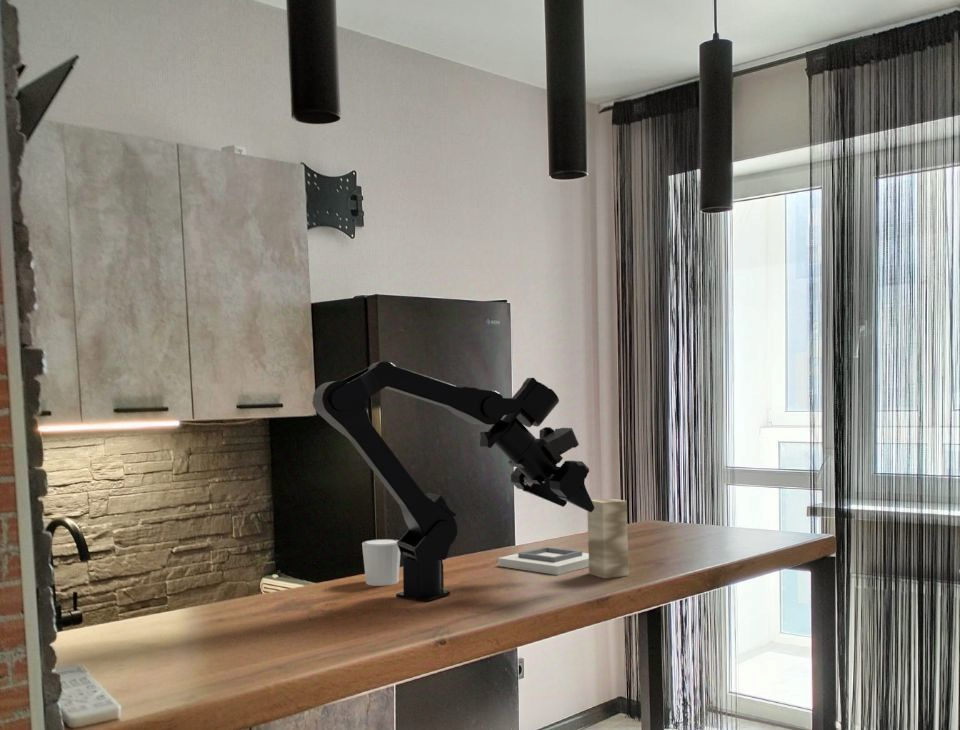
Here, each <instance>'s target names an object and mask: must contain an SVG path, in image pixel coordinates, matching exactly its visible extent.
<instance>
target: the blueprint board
mask: <svg viewBox="0 0 960 730" xmlns="http://www.w3.org/2000/svg"><path fill="white" fill-rule="evenodd" d="M497 559H498V560H497V562H498V563H497V564H498V567H503V568H510V569H516V570H521V571H529V572H537V573H542V574H548V575H555V576H559V575H563V574H567V573H570V572H574V571H578V570H581V569H586V568H589V552H583V551H582V550H575V549H574V550H573V549H567V548H558V547H549V546H544V547H540V548H536V549H530V550H526V551H522V552H517V553H515V554H511V555H509V554H508V555H506V556H501V557H500V556H499V557H498V558H497Z"/></svg>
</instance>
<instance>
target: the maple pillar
mask: <svg viewBox="0 0 960 730" xmlns="http://www.w3.org/2000/svg"><path fill="white" fill-rule="evenodd" d="M591 501H592V503H593V505H594V507H595V508H594V510H593V511H592V512H588V511H587V537H588V538H587V541H588V542H587V543H588V548H587V549H588V553H589V567H588V573H589V574H590V575H591V576H592V575H593V576H596V577H599V578H601V579H610V578H618V577H628V576H630V575H629V574H630V573H629V570H630V569H629V541H628V540H629V538H628V537H629V536H628V503H627V502H628V501H627V500H624V499H616V498H598V499H591Z"/></svg>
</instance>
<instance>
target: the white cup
mask: <svg viewBox="0 0 960 730" xmlns="http://www.w3.org/2000/svg"><path fill="white" fill-rule="evenodd" d="M398 541H399V540H398V539H391V538H382V539H381V538H380V539H379V538H378V539H370V540H365V541H363V542H362V543H361V546H362V556H363V558H362V559H363V566H364V567H363V568H364V576H365V577H364V578H365V584H366V585H368V586H374V587H375V586H376V587H380V586H381V587H382V586H383V587H385V586H393V585H397V584H399V579H400V577H399V576H400V566H401V553H400V550H399V548H398V545H397V542H398Z"/></svg>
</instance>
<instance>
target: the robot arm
mask: <svg viewBox="0 0 960 730" xmlns="http://www.w3.org/2000/svg"><path fill="white" fill-rule="evenodd" d="M383 389H386V390H390V391H393V392H395V393H400V394H402V395H405V396H408V397H410V398H414V399H417V400H420V401H423V402H427V403H431V404H433V405H436V406H440V407H443V409H445V410H446V409H447V410H448V411H450V413H452V414H453V415H455V416H457V417H458V418H460V419H462V420H464V421H466V422H467V423H469V424H472V425H486V426H487V425H488V426H490V425H491V426H490V427H489V429H488V430H487V431H483V430H482V431H480V432H479V434H480V438H479V439H480V440H479V447H480V448H486V449H492V447H493V446H494V445H495V446H496V447H497V448H498V449H499V450H500V451H501V452H502V453H503V454H504V455H505V456H506V457H507V458H508V459H509V461H508V462H507V463H508V464H509V465H510V467H512V468H513V467H515V469H514V470H513V472H511V474H510V482H511V484H512V485H514V486H515V488H516V489H517V490H522V491H523V492H525V493H529V494H530V495H534V496H535V497H538V498H541V499H542V500H546V501H548V502H551V503H552V504H554V505H555V504H556V505H558V506H560V507H563V508H564V507H565V506H566V505H567V503H570V504H571V505H573V506H575V507H578V508H579V509H582V510H584V511H586V512H587V513H588V512H592V511H593V510H594V508H595V507H594V505H593V503H592V501H591V500H592V499H591V497H590V494H589V492H588V490H587V487H586V485H585V484H586V483H585V480H586V478H587V477H588V474H589V473H590V468H589V467H588V466H587V465H586V464H585V463H584V462H583V461H581V460H580V461H579V460H565V461H564V462H563V463H562V464H561V466H558V464H560V463H561V461H562V460H563V459H564V457H563V456H562V455H563V454H565V453H567V452H568V451H570V450H572V449H573V448H577V447H578V446H579V445H580V443H579V441H578V439H577V437H576V434H575V432H574V430H573V428H572V427H560V428H555V429H553V428H552V427H549V426H548V427H547V426H546V427H545V426H544V427H543V428H541V429H540V430H539V438H536V436H534V434H533V433H532V432H531V431H529V429H528V428H531V427H532V426H534V427H538V428H539V427H540V426H541V424H542V423H543V422H544V421H545V419H546V418H547V417H548V416H549V415H550V414H551V413H552V411H553V410H554V408H555V407H556V406H557V405H558V404H559V403H560V399H559V397H558V395H557V393H556V392H555V391H554V390H553V389H552V388H549V387H548V386H546V384H543V383H542V382H539V381H537V379H535V377H527V378H526V379H525V380H524V381H523V382H522V385H521V387H520V388H518V390H517V391H516V392H515V394H514V395H513V396H512V397H503V395H502V394H501V393H500V392H498V391H496V390H493V389H487V388H480V387H472V386H471V387H470V386H461V385H455V384H452V383H450V382H447V381H443V380H440V379H437V378H434V377H431V376H429V375H425V374H422V373H419V372H417V371H412V370H411V369H407V368H404V367H400V366H398V365H395V364H394V363H392V362H391V361H387V360H384V361H383V360H382V361H377V362H373V363H372V364H371V365H369V366H368V367H367V368H365V369H363V370H361V371H358V372H357V373H354V374H352V375H350V376H348V377H345V378H344V379H342V380H335V381H328V382H323V383H322V384H320V385H319V386H318V387H317V388H316V389H315V391H314V393H313V395H312V396H313V397H312V406H313V408H314V410H315V412H316V413H317V414H318V415H319V416H321V418H322V419H324V420H325V421H326V423H328V424H329V425H330V426H331V427H333V428H334V429H335V430H336V431H338V432H339V433H340V434H342V435H343V436H345V437H346V438H347V439H348V440H349V441H350V443H351V444H352V445H353V446H354V448H355V449H356V450H357V452H358V453H359V455H360V456H361V457H362V459H363V460H364V461H365V462H366V463H367V465H368V467H369V468H370V469H371V470H372V472H373V473H374V474H375V475H376V476H377V478H378V479H379V480H380V482H381V483H382V484H383V485H384V487H385V488H386V490H387V492H389V494H390V495H391V496H392V497H393V499H394V500H395V501H396V503H397V504H398V505H399V507H400V510H401V512H402V517H403V520H404V522H405V524H406V526H407V528H408V529H407V530H406V532H404V534H403V535H402V536H401V537H400V538H399V541H398V542H397V545H398V548H399V550H400V555H404V558H402V574H403V575H402V581H403V582H402V583H403V589H402V590H403V591H401V592H397V593H395V597H396V598H399V599H400V598H401V599H407V600H413V601H414V600H415V601H420V602H421V601H422V602H429V601H433V600H436V599H439V598H442V597H445V596H447V595H450V594H451V592H452V591H451V590H449V589H444V588H445V586H444V585H445V582H444V578H445V577H444V563H443V562H444V561H445V560H447V556H448V555H449V551H450V548H451V546H452V544H453V543H454V542H455V540H456V539H457V535H458V529H459V525H458V522H457V521H456V519H455V518H454V517H457V513H455V512H453V511H452V510H451V509H450V508H449V506H448V504H447V502H446V501H445V499H444V498H443V496H442V495H438V494H434V493H430V492H428V493H425V492H424V491H423V490H422V489H421V487H420V486H419V485H418V484H417V482H416V481H415V480H414V478H413V477H412V475H410V473H409V472H408V470H407V469H406V468H405V466H404V465H403V464H402V463H401V461H400V460H399V458H398V457H397V456H396V454H395V453H394V452H393V450H391V448H390V447H389V445H388V444H387V443H386V441H385V440H384V439H383V438H382V436H381V435H380V433H379V432H378V430H376V428H375V427H374V426H373V423H372V422H371V420H370V416H369V412H368V409H367V407H366V405H365V401H366V400H368V399H370V398H372V397H373V396H374V395H376V394H377V393H378V392H380V391H382V390H383Z"/></svg>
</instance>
